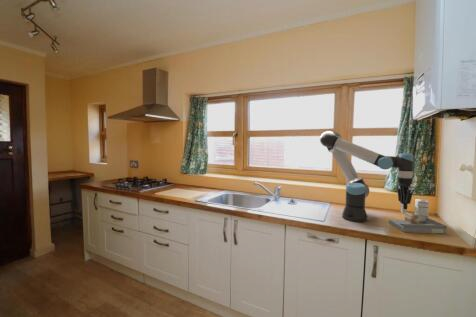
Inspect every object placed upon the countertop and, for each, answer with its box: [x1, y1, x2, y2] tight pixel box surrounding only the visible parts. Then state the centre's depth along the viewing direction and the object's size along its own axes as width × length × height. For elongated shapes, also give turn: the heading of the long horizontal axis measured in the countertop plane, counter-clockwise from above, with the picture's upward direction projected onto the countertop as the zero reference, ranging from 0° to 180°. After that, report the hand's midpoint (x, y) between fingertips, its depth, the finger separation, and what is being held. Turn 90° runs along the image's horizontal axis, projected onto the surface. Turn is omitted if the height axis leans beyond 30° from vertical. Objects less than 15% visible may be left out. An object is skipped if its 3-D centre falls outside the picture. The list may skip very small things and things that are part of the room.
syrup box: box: [414, 198, 430, 221], centre depth 144 cm, size 6×6×14 cm
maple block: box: [404, 212, 419, 224], centre depth 137 cm, size 5×5×5 cm
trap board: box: [388, 217, 447, 234], centre depth 134 cm, size 23×14×4 cm, turn 86°
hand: (403, 213), depth 145 cm, fingers closed
